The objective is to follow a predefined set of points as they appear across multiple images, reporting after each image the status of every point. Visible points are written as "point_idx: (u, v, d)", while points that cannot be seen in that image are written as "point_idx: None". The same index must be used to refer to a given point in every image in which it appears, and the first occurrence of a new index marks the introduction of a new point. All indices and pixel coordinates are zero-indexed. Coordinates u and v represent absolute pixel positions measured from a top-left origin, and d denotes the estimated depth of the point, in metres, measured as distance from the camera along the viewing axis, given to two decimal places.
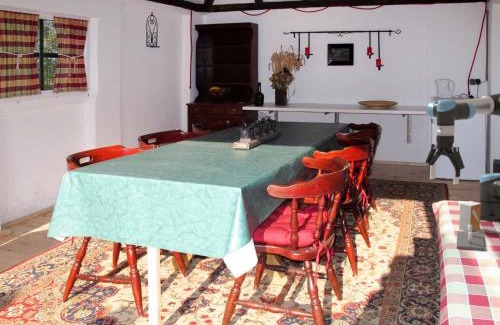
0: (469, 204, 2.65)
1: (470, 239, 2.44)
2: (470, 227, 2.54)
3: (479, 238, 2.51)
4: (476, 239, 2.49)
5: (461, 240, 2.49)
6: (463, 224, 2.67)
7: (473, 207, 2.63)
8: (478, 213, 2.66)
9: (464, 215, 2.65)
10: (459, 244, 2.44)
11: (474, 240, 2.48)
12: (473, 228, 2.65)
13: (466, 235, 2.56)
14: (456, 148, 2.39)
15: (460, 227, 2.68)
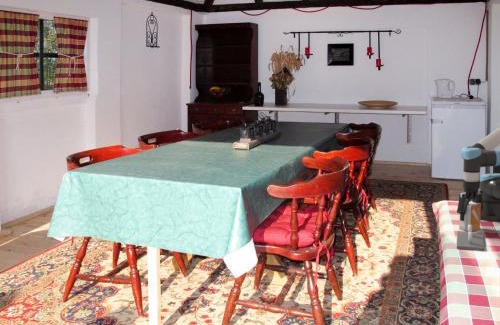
0: (469, 204, 2.64)
1: (470, 239, 2.44)
2: (470, 227, 2.54)
3: (479, 238, 2.51)
4: (476, 239, 2.49)
5: (461, 240, 2.49)
6: None
7: (473, 207, 2.63)
8: (478, 213, 2.66)
9: None
10: (459, 244, 2.44)
11: (474, 240, 2.48)
12: (473, 228, 2.65)
13: (466, 235, 2.56)
14: (460, 194, 2.63)
15: (460, 227, 2.68)
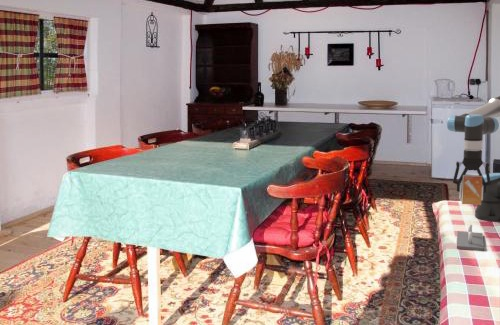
0: (467, 175, 2.46)
1: (470, 239, 2.44)
2: (470, 227, 2.54)
3: (479, 238, 2.51)
4: (476, 239, 2.49)
5: (461, 240, 2.49)
6: (461, 195, 2.49)
7: (467, 178, 2.44)
8: (477, 186, 2.44)
9: None
10: (459, 244, 2.44)
11: (474, 240, 2.48)
12: (468, 201, 2.46)
13: (466, 235, 2.56)
14: (456, 162, 2.48)
15: None
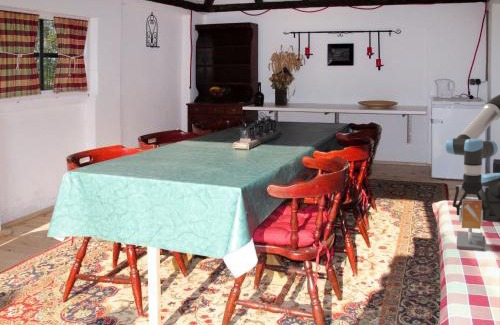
0: (466, 199, 2.46)
1: (470, 239, 2.44)
2: None
3: (479, 238, 2.51)
4: (476, 239, 2.49)
5: (461, 240, 2.49)
6: None
7: (467, 202, 2.45)
8: (476, 210, 2.44)
9: (461, 209, 2.49)
10: (459, 244, 2.44)
11: (474, 240, 2.48)
12: (468, 225, 2.46)
13: (466, 235, 2.56)
14: None
15: None
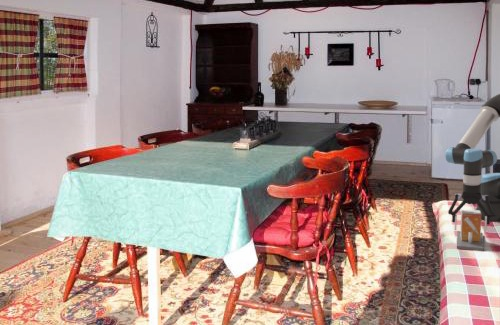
0: (466, 211, 2.48)
1: (470, 239, 2.44)
2: None
3: None
4: None
5: (461, 240, 2.49)
6: None
7: (466, 215, 2.46)
8: (476, 223, 2.45)
9: (461, 222, 2.50)
10: (459, 244, 2.44)
11: None
12: (467, 238, 2.48)
13: None
14: None
15: (460, 234, 2.53)
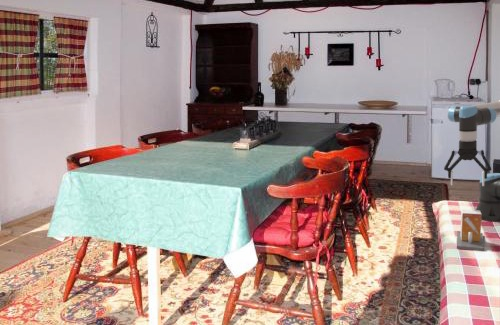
0: (466, 211, 2.48)
1: (470, 239, 2.44)
2: None
3: None
4: None
5: (461, 240, 2.49)
6: None
7: (466, 215, 2.46)
8: (476, 223, 2.45)
9: (461, 222, 2.50)
10: (459, 244, 2.44)
11: None
12: (467, 238, 2.48)
13: None
14: None
15: (460, 234, 2.53)
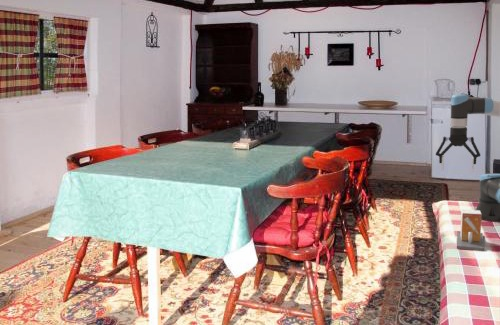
0: (466, 211, 2.48)
1: (470, 239, 2.44)
2: None
3: None
4: None
5: (461, 240, 2.49)
6: None
7: (466, 215, 2.46)
8: (476, 223, 2.45)
9: (461, 222, 2.50)
10: (459, 244, 2.44)
11: None
12: (467, 238, 2.48)
13: None
14: None
15: (460, 234, 2.53)
